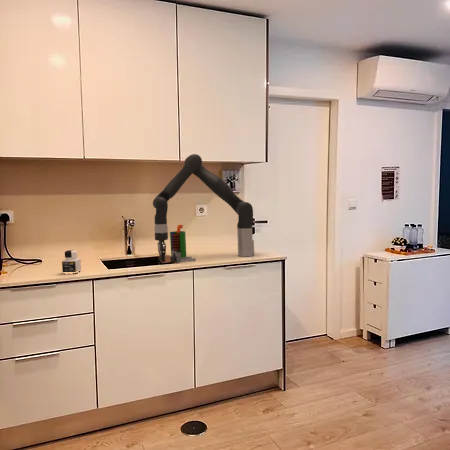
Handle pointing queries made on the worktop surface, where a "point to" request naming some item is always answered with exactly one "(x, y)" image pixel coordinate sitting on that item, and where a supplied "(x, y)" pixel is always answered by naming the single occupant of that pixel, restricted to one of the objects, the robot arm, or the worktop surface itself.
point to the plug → (169, 258)
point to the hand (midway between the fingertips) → (162, 260)
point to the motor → (178, 241)
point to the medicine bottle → (71, 262)
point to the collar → (181, 259)
